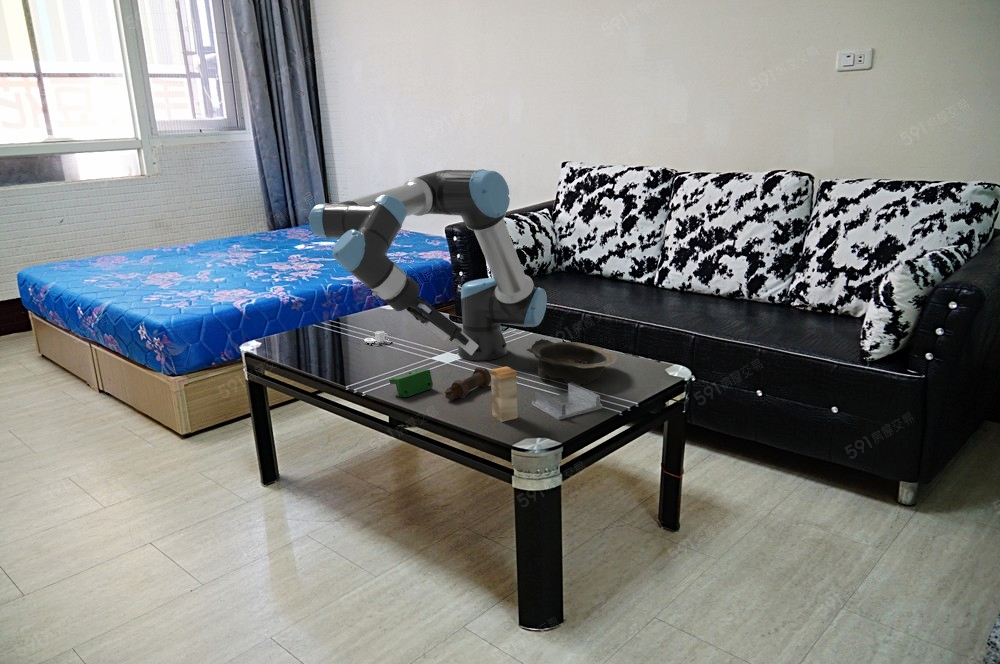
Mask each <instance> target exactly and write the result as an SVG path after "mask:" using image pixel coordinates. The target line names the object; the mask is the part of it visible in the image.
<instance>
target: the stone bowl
mask: <svg viewBox="0 0 1000 664" xmlns="http://www.w3.org/2000/svg"><path fill="white" fill-rule="evenodd" d="M526 352H529V353H531V354H532V355H534V357H535V358H536V359H537V360H538V363H537V375H538V377H539V378H541V379H543V380H554V379H558V378H559V379H563V381H564V382H565V383H566V384H567V385H568V383H571V382H573V383H575V384H577V385H579V386H580V385H582V384H583V385H586V384H590V383H592V382H593V381H596V380H598V379H600V377H601V375H602V374H603V372H604V370H605V368H606V367H608V366H610V365H613V364H616V363H617V359H618V357H617V355H616V354H615V353H614V352H613V351H610V350H608V349H605V348H603V347H600V346H596V345H590V344H587V343H582V342H575V341H567V342H566V341H565V342H562V341H561V342H553V341H551V340H549V339H543V338H541V339H539V340H535V342H534V343H533V344H532V345H531V348H527V349H526Z"/></svg>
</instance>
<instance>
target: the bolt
mask: <svg viewBox="0 0 1000 664" xmlns="http://www.w3.org/2000/svg"><path fill="white" fill-rule="evenodd" d="M490 383H491V372H490V371H489V370H488V369H487V368H485V367H481V366H479V367H478V366H477V367H476V368H475V369H474V371H473V372H472V375H471V376H469V377H467V378H465V379H464V380H461V379H456V380H454V381H453V382H452V383H451V385H450V387H447V389H446V390H445V391H444V395H445V398H446V399H447V400H448V401H453V400H455V399H457V398H458V399H464V398H465V397H467V396H468V393H469V392H470V391H472V390H474V389H476V388H477V387H483V388H487V387H488V386H489V385H491V384H490Z"/></svg>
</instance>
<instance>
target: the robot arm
mask: <svg viewBox="0 0 1000 664" xmlns="http://www.w3.org/2000/svg"><path fill="white" fill-rule="evenodd" d="M509 195H510V189H509V185H508V183H507V181H506V179H505V177H504V176H503V175H502V174H501V173H500V172H497V171H495V170H488V169H477V170H473V169H472V170H471V169H470V170H469V169H466V170H465V169H442V170H438V171H433V172H430V173H426V174H423V175H420V176H417V177H413V178H410V179H408V180H406V181H405V182H404V183H403V185H399V186H396V187H391V188H388V189H386V190H381V191H377V192H374V193H370V194H367V195H364V196H360V197H357V198H356V197H355V198H353V199H350V200H346V201H342V202H341V201H340V202H336V203H328V202H326V203H319V204H316V205H315V206H314V207H313V208H312V209H311V210H310V213H309V215H308V217H309V218H308V221H309V227H310V230H311V232H312V233H313V234H314V236H316V237H319V238H325V239H328V240H329V239H330V240H331V239H338V240H337V241H336V243H335V244H334V246H333V249H332V257H333V258H334V260H336V262H337V263H338V264H339V265H341V267H342V268H343V269H344V270H345V271H346V272H348V273H350V274H351V275H352V276H353V277H354V278H356V279H357V280H358V281H360V282H361V283H362V284H364V285H365V286H366V287H367V288H369V290H371V291H372V292H371V294H372V296H373V297H376V296H378V297H379V298H380V299H382V300H384V302H385V303H386V304H387V305H388V306H389V307H391V308H392V309H393V310H394V311H396V312H402V311H403V310H406V311H407V312H408V313H409V314H411V315H412V316H413V317H414V318H415V320H416V321H419V322H420V323H421V324H424V326H425V327H427V328H428V329H429V330H430V331H432V333H433V334H435V335H436V336H437V337H438V338H439V339H441V340H442V341H444V342H446V341H447V340H448V338H449V337H450V338H449V341H450V342H455V344H457V345H458V346H457V348H458V349H457V350H458V352H457V353H458V356H459V357H460V358H462V359H465V360H468V361H490V360H491V361H492V360H497V359H500V358H503V357H505V356H506V355H507V354H508V345H507V341H506V339H505V337H504V334H503V331H502V327H501V325H510V326H517V327H523V328H526V327H527V328H529V327H531V328H534V327H538V326H539V325H540V324H541V322H542V321H543V319H544V316H545V313H546V310H547V309H546V308H547V302H548V299H547V298H548V297H547V293H546V290H545V289H544V288H541V287H536V286H535V284H534V281H533V279H532V278H531V277H530V276H529V275H527V274H525V272H524V269H523V266H522V264H521V260H520V258H519V257H518V256H519V255H518V254H517V250H516V248H515V245H514V243H513V240H512V238H511V235H510V232H509V230H508V227H507V223H506V222H505V221H506V220H505V217H506V215H507V211H508V209H509V206H510V200H511V199H510V197H509ZM412 215H413V216H417V217H420V216H425V215H446V216H460V217H461V218H462V221H463V223H464V226H465V227H467V229H468V230H471V231H473V233H474V234H475V237H476V239H477V241H478V244H479V246H480V249H481V251H482V253H483V255H484V258H485V260H486V263H487V265H488V268H489V270H490V273H491V275H492V277H488V278H487V277H485V278H479V279H474V280H470V281H466V282H465V283H464V284H462V286H461V291H460V292H461V293H460V299H461V314H462V328H461V326H458V325H457V324H456V323H454V322H453V321H452V320H451V319H449V318H448V317H446V316H445V315H444V314H443V313H442V312H440V311H439V310H438V309H436V308H435V307H434V306H433V305H432V304H430V302H429V301H427V300H426V299H425V298H423V297H420V296H419V293H420V285H419V284H418V283H417V282H416V281H415V280H414V279H413V278H412V277H410V275H407V273H406V272H405V271H404V270H403V269H402V268H401V267H400V266H398V264H397V263H395V262H394V261H393V260H391V259H390V258H389V257H388V256H387V253H388V252H389V249H390V248H391V246H392V244H393V242H394V240H395V239H396V237H397V235H398V233H399V232H400V230H401V229H402V227H403V223H404V221H405V219H406V217H410V216H412Z"/></svg>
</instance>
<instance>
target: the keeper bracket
mask: <svg viewBox="0 0 1000 664" xmlns="http://www.w3.org/2000/svg"><path fill="white" fill-rule="evenodd" d="M567 386H568V388H567V389H568V391H567V392H562V393H559V394H555V395H551V396H550V395H548V394H547V393H545V392H542V391H540V390H539V389H538V390H535V392H534V394H535V398H534V399H535V400H532V401H531V405H532V406H534V407H535V408H538V409H539V410H541V411H542V412H544V413H545V414H547V415H549V416H551V417H553V418H554V419H556V420H559V421H560V420H564V419H568V418H571V417H575V416H579V415H582V414H587V413H591V412H595V411H597V410H601V409H603V404H602V403H601V395H599V394H598V393H596V392H594V391H591V390H589V389H587V388H585V387H582V386H580V385H577V384H575V383H573V382H571V383H568V384H567Z"/></svg>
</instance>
